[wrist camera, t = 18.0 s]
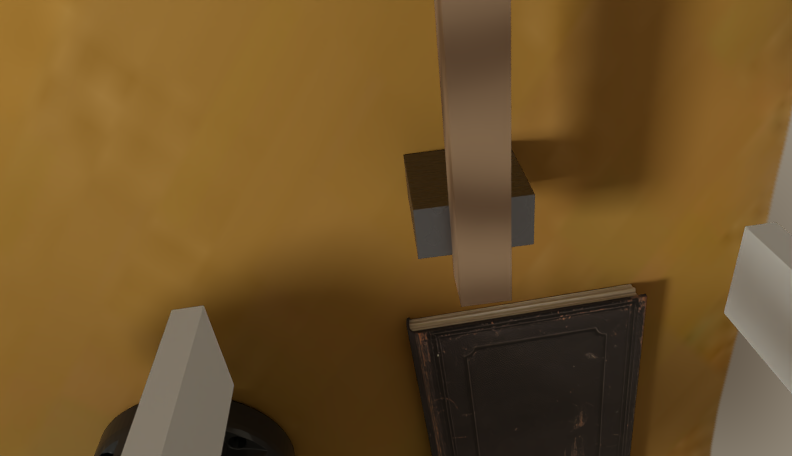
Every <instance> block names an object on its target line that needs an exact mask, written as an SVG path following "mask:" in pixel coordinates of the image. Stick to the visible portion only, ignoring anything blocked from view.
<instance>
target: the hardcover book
mask: <svg viewBox="0 0 792 456" xmlns="http://www.w3.org/2000/svg"><path fill="white" fill-rule="evenodd" d="M646 302H647V295H646V294H641V295H637V293H636V292H635V288H634V287H632V285H631V284H627V285H621V286H615V287H609V288H603V289H597V290H591V291H584V292H578V293H572V294H566V295H560V296H554V297H547V298H541V299H535V300H529V301H523V302H517V303H511V304H504V305H498V306H492V307H486V308H480V309H474V310H468V311H461V312H455V313H449V314H443V315H437V316H431V317H424V318H418V319H412V320H410V319H409V318H407V320H406V325H407V330H408V335H409V340H410V345H411V350H412V356H413V361H414V366H415V371H416V376H417V381H418V386H419V391H420V396H421V401H422V406H423V411H424V416H425V421H426V426H427V431H428V436H429V441H430V447H431V452H432V456H630V450H631V440H632V431H633V422H634V413H635V403H636V394H637V385H638V376H639V367H640V357H641V348H642V339H643V330H644V320H645V311H646Z"/></svg>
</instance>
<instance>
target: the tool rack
mask: <svg viewBox="0 0 792 456" xmlns="http://www.w3.org/2000/svg"><path fill="white" fill-rule="evenodd" d="M404 163H405V172H406V181H407V189H408V198H409V205H410V211H411V217H412V223H413V229H414V235H415V241H416V247H417V253H418V259H421V258H429V257H437V256H445V255H452V240H451V227H450V213H449V199H448V185H447V171H446V157H445V150H437V151H429V152H422V153H414V154H406V155H404ZM534 208H535V194H534V192H533V190H532V188H531V186H530V184H529V182H528V180H527V178H526V176H525V174H524V172H523V171H522V169H521V167H520V165H519V163H518V161H517V159H516V157H515V155H514V153H513V151H512V149H511V247H515V246H522V245H530V244H534Z"/></svg>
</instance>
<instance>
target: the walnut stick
mask: <svg viewBox="0 0 792 456" xmlns="http://www.w3.org/2000/svg"><path fill="white" fill-rule="evenodd" d="M434 4H435V18H436V32H437V46H438V60H439V74H440V87H441V101H442V115H443V129H444V143H445V157H446V171H447V185H448V199H449V213H450V227H451V240H452V254H453V268H454V278H455V282H456V286H457V290H458V294H459V298H460V303H461V307H463V306H471V305H479V304H487V303H494V302H502V301H510V300H512V270H511V0H434Z"/></svg>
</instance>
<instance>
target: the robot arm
mask: <svg viewBox="0 0 792 456" xmlns="http://www.w3.org/2000/svg"><path fill="white" fill-rule="evenodd" d="M724 313H725V315H726V316H727V317H728V318H729V319H730V321H731V322H732V323H733V324H734V325H735V327H736V328H737V329H738V330H739V331H740V333H741V334H742V335H743V336H744V337H745V338H746V340H747V341H748V342H749V343H750V345H751V346H752V347H753V348H754V349H755V351H756V352H757V353H758V354H759V355H760V356H761V358H762V359H763V360H764V361H765V363H766V364H767V365H768V366H769V367H770V369H771V370H772V371H773V372H774V373H775V375H776V376H777V377H778V378H779V379H780V380H781V382H782V383H783V384H784V385H785V386H786V388H787V389H788V390H789V391H790V392H791V394H792V235H791V234H790V233H789V232H788V231H787V230H785V229H784V228H783V227H782V226H781V225H779V224H778V223H777V222H774V223H767V224H760V225H753V226H746V227H745V230H744V234H743V238H742V242H741V246H740V250H739V254H738V258H737V262H736V266H735V271H734V275H733V279H732V283H731V287H730V291H729V295H728V299H727V303H726V307H725V311H724ZM233 388H234V384H233V381H232V378H231V376H230V373H229V371H228V368H227V365H226V363H225V360H224V357H223V355H222V352H221V350H220V347H219V344H218V342H217V339H216V337H215V334H214V331H213V329H212V326H211V323H210V321H209V318H208V316H207V313H206V310H205V308H204V306H197V307H191V308H184V309H177V310H172V311H171V314H170V317H169V320H168V322H167V325H166V328H165V331H164V334H163V337H162V340H161V342H160V345H159V348H158V351H157V354H156V357H155V360H154V362H153V365H152V368H151V371H150V374H149V377H148V380H147V382H146V385H145V388H144V391H143V394H142V397H141V400H140V402H139V404H138V405H136V406H133V407H131V408H129V409H128V410H126V411H124V412H123V413H121V414H120V415H118V416H117V417H116V418H115V419H114V420H113V421H112V422H111V423H110V424H109V425H108V426H107V428H106V429H105V431H104V433H103V435H102V437H101V440H100V442H99V445H98V447H97V450H96V452H95V455H94V456H295V454H294V449H293V446H292V444H291V442H290V440H289V438H288V436H287V435H286V434H285V432H284V431H283V430H282V429H281V428H280V427H279V426H278V425H277V424H276V423H275V422H274V421H272V420H271V419H270V418H268V417H267V416H265V415H264V414H262V413H260V412H258V411H256V410H254V409H252V408H250V407H248V406H245V405H242V404H240V403H236V402H233V401H231V399H232V394H233Z"/></svg>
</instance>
